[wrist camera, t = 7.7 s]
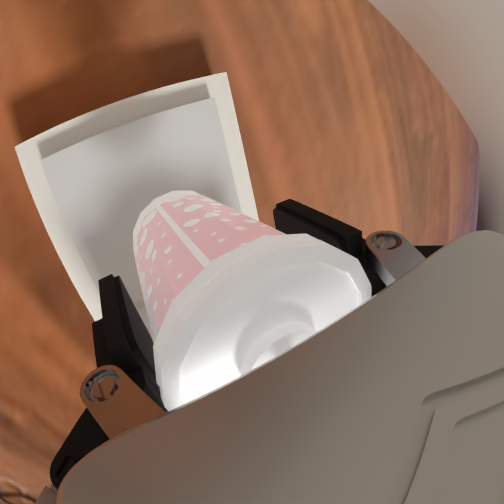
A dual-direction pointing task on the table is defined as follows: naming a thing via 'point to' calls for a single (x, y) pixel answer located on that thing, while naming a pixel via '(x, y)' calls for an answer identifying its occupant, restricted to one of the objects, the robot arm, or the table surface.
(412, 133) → the table surface
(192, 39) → the table surface
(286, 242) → the beverage cup
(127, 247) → the scale
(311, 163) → the table surface
